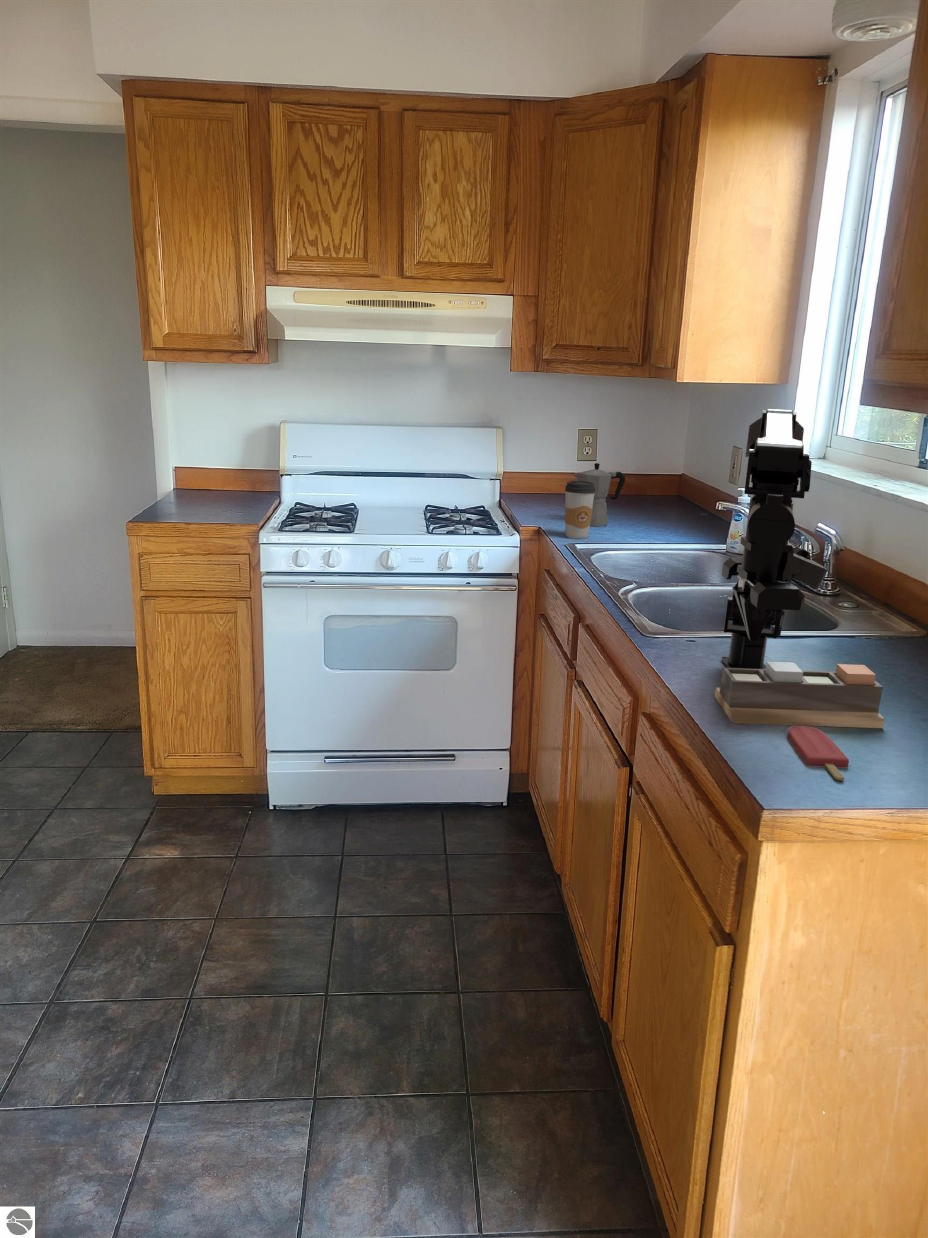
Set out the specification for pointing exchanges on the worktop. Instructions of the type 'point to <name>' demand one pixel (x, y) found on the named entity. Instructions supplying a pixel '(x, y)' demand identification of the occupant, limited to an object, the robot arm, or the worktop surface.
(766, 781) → the worktop surface
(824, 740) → the popsicle
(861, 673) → the terracotta key
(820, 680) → the sage key
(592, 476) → the coffeepot
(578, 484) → the coffee cup
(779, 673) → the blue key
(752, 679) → the ivory key
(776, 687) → the brown long open box
